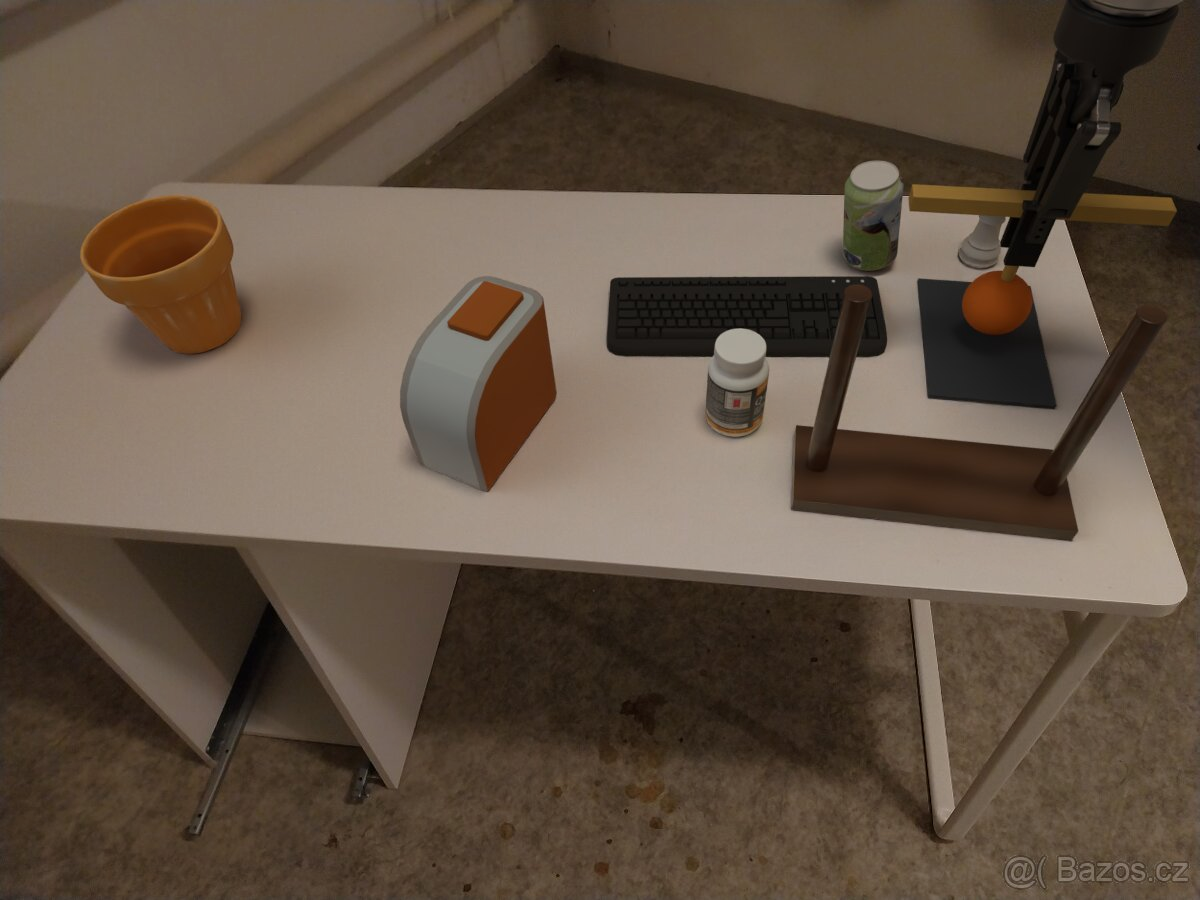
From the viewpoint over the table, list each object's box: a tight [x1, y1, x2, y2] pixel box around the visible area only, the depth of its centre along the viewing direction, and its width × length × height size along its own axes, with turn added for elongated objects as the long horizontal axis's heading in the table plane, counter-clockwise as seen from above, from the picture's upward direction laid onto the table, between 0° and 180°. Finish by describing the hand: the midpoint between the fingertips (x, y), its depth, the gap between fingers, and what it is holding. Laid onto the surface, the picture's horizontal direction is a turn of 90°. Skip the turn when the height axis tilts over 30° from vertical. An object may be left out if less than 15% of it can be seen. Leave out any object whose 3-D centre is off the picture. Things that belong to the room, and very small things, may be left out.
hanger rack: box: [790, 284, 1169, 542], centre depth 68 cm, size 9×24×22 cm, turn 80°
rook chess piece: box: [958, 215, 1007, 269], centre depth 93 cm, size 4×4×8 cm
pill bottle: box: [705, 328, 770, 438], centre depth 79 cm, size 6×6×10 cm
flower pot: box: [79, 194, 242, 355], centre depth 91 cm, size 14×14×13 cm
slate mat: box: [916, 277, 1058, 410], centre depth 88 cm, size 18×12×1 cm, turn 170°
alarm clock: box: [399, 275, 558, 493], centre depth 79 cm, size 15×8×14 cm, turn 152°
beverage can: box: [842, 159, 905, 272], centre depth 92 cm, size 6×7×12 cm
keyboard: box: [606, 275, 888, 358], centre depth 91 cm, size 30×11×2 cm, turn 87°
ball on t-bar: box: [908, 183, 1178, 335], centre depth 80 cm, size 6×22×16 cm, turn 80°
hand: (1017, 254), depth 79 cm, fingers closed on ball on t-bar, 2 cm apart
